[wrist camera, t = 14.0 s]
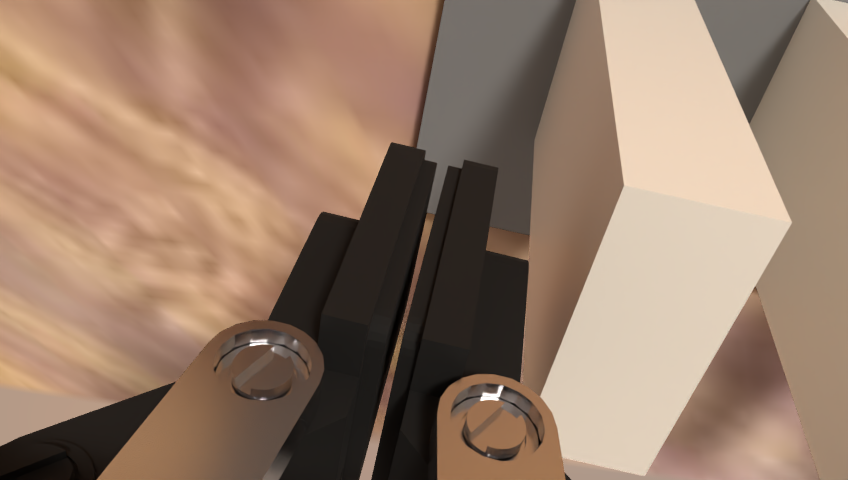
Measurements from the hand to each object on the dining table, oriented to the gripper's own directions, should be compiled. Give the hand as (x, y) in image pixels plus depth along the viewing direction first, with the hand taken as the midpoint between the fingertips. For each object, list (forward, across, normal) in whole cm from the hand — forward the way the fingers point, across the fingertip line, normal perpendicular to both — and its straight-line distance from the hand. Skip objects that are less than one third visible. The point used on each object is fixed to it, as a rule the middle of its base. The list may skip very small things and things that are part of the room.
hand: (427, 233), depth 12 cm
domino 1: (+8, -3, 0) cm, 9 cm away
